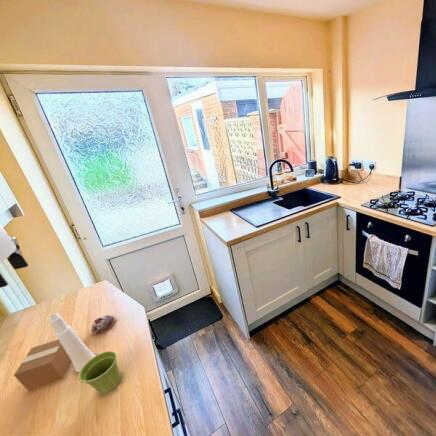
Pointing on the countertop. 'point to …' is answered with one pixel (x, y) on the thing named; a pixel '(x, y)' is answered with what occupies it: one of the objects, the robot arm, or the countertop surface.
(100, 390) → the plant pot
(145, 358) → the countertop surface
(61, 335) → the cosmetic bottle
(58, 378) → the box
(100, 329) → the pastry
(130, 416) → the countertop surface
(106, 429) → the countertop surface
